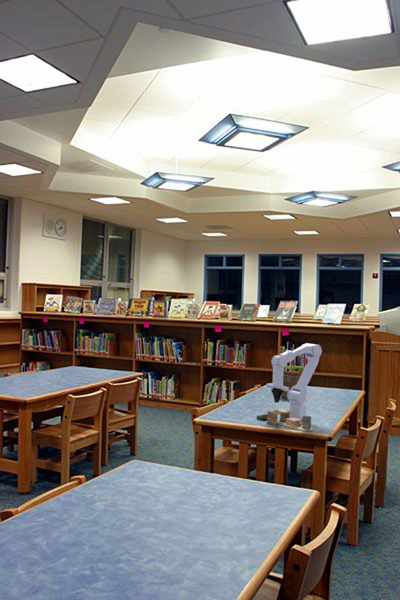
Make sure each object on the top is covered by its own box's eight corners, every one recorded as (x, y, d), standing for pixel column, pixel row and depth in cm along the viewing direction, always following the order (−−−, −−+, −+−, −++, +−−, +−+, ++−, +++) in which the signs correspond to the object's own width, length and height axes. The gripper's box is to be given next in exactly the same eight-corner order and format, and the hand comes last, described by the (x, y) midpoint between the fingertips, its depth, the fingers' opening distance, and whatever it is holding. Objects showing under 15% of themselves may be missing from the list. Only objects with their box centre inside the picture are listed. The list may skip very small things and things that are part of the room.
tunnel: (281, 420, 286) (281, 409, 286) (289, 422, 281) (290, 411, 281) (267, 422, 278) (267, 410, 278) (275, 424, 274) (276, 413, 274)
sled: (287, 422, 280) (287, 409, 280) (313, 429, 266) (313, 416, 266) (278, 424, 275) (278, 411, 275) (304, 431, 262) (304, 417, 262)
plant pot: (277, 394, 374) (278, 372, 374) (300, 396, 372) (301, 373, 372) (278, 398, 358) (279, 375, 358) (301, 400, 355) (303, 376, 356)
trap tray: (267, 417, 292) (268, 414, 292) (274, 419, 288) (274, 415, 288) (256, 418, 286) (256, 415, 286) (263, 420, 282) (263, 417, 282)
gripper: (263, 376, 288) (262, 400, 288) (283, 379, 277) (281, 405, 277) (272, 375, 293) (270, 399, 293) (291, 379, 282) (290, 404, 282)
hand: (276, 402), depth 285 cm, fingers closed
